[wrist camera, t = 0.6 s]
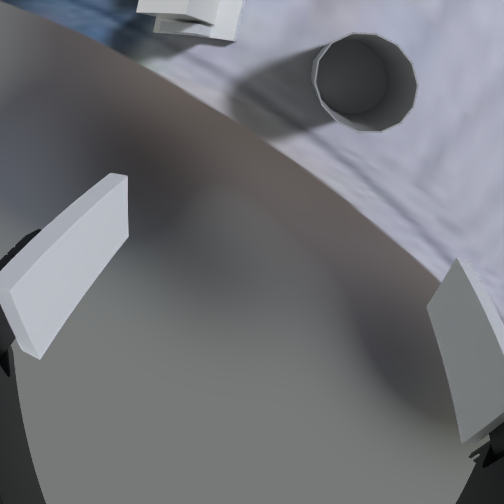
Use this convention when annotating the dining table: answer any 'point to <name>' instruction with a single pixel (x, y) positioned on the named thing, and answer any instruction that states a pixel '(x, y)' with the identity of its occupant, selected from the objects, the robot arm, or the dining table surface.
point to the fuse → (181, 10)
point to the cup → (365, 82)
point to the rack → (223, 28)
